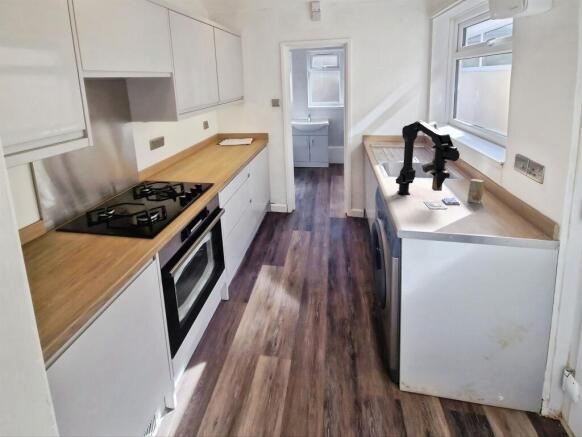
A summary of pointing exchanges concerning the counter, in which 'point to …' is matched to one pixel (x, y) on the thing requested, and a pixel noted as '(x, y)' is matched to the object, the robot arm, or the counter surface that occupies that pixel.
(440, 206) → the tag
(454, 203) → the tray
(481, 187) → the skincare box
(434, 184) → the stamp
